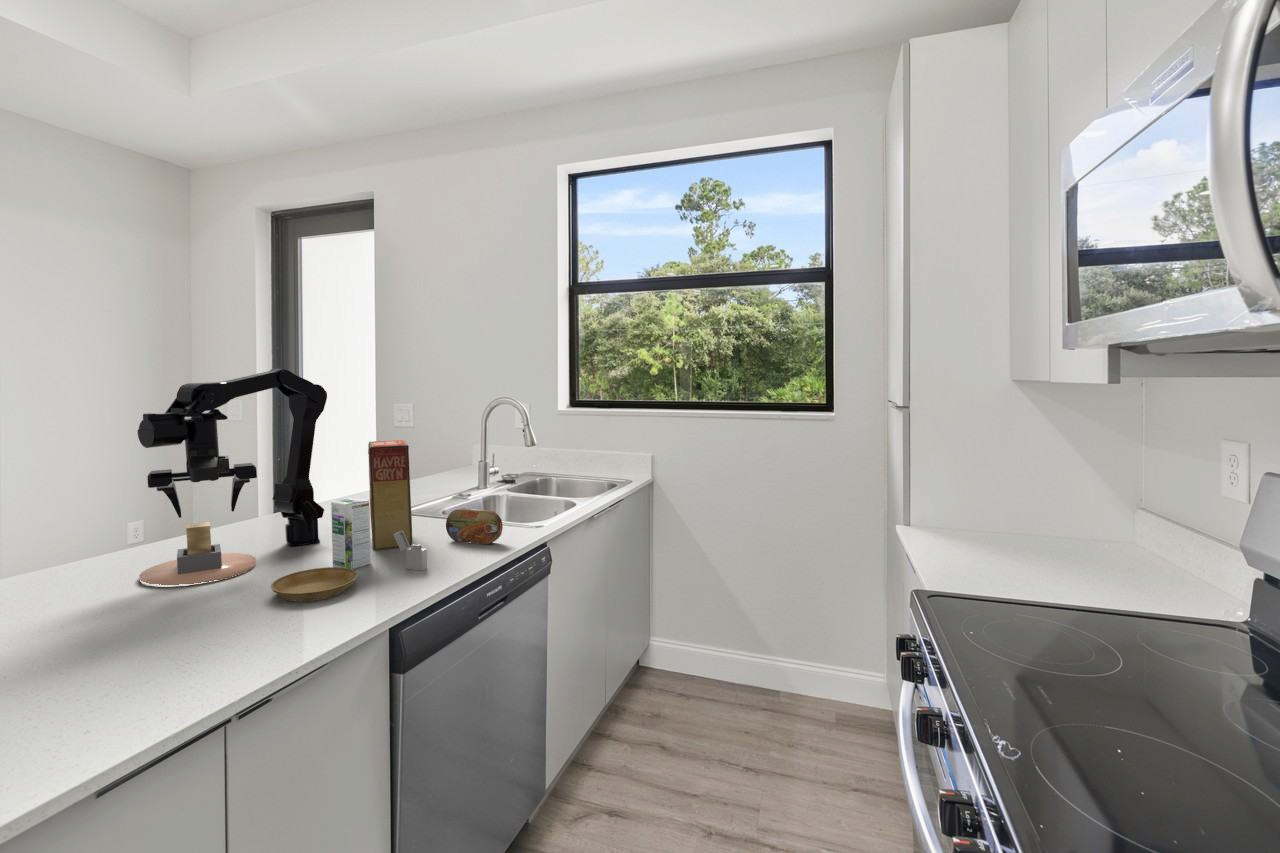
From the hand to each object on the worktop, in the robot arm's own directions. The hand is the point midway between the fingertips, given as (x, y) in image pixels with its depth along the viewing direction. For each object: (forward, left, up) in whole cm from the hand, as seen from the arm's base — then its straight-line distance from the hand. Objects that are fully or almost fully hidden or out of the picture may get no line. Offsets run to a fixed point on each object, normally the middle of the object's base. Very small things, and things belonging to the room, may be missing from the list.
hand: (207, 514), depth 131 cm
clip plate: (+2, +2, -12) cm, 12 cm away
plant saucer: (-16, +29, -12) cm, 36 cm away
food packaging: (-37, +1, -12) cm, 39 cm away
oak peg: (+2, +2, -11) cm, 11 cm away
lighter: (-35, +25, -12) cm, 45 cm away
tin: (-54, +13, -12) cm, 57 cm away
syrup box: (-25, +16, -12) cm, 32 cm away
